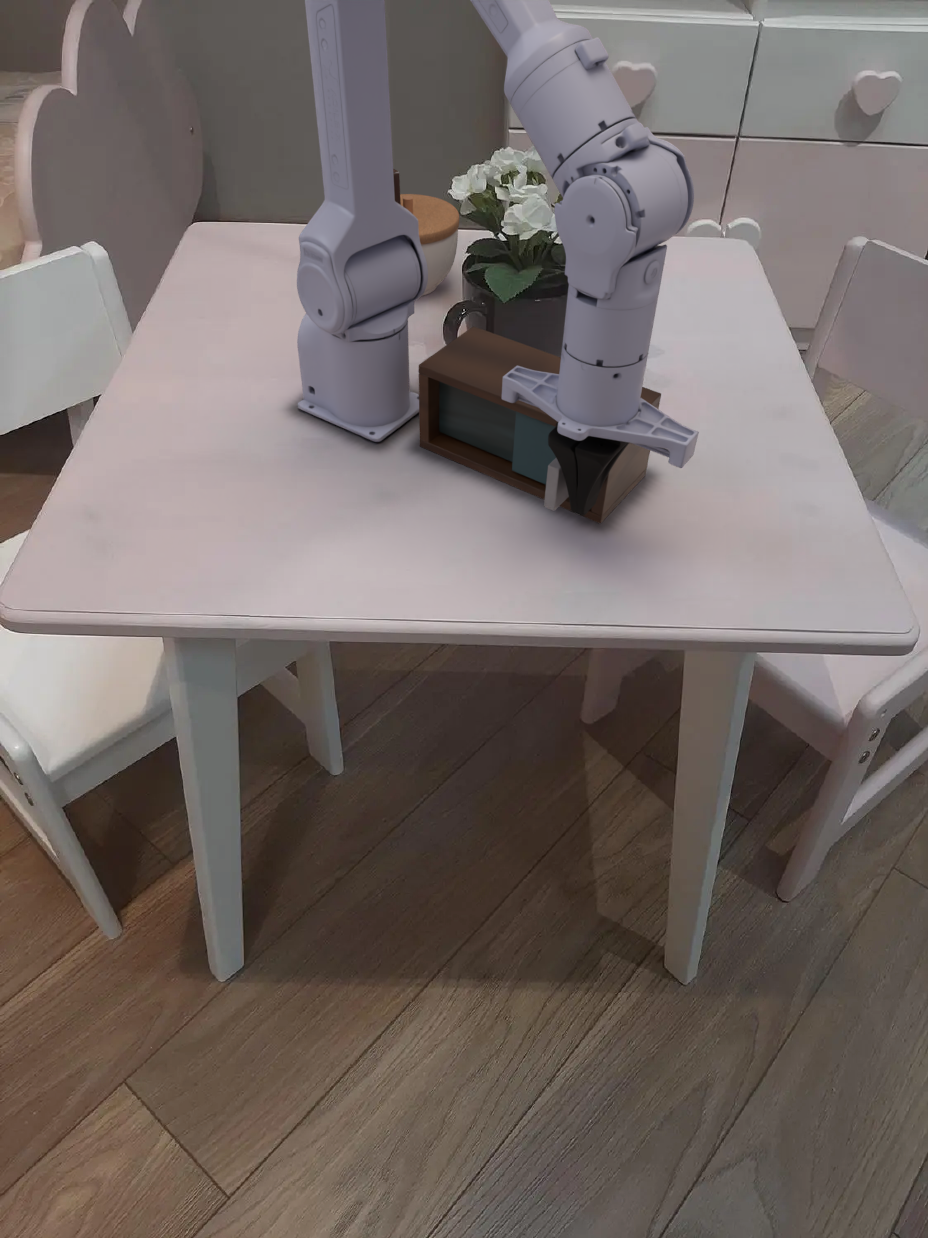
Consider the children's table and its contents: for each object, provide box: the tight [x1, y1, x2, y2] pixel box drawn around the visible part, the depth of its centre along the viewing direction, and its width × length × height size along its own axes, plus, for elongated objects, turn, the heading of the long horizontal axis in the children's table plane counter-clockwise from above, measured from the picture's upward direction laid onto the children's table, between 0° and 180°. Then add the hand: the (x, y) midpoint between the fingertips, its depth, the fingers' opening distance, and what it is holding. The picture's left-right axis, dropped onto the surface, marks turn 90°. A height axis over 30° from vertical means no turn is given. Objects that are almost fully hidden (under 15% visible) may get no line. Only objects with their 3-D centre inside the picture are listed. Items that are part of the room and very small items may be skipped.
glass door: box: [512, 411, 569, 512], centre depth 73 cm, size 4×8×6 cm, turn 56°
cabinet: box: [418, 326, 662, 525], centre depth 78 cm, size 8×18×8 cm, turn 56°
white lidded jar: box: [400, 193, 460, 297], centre depth 100 cm, size 11×11×9 cm
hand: (582, 507), depth 72 cm, fingers closed, pressing on cabinet
